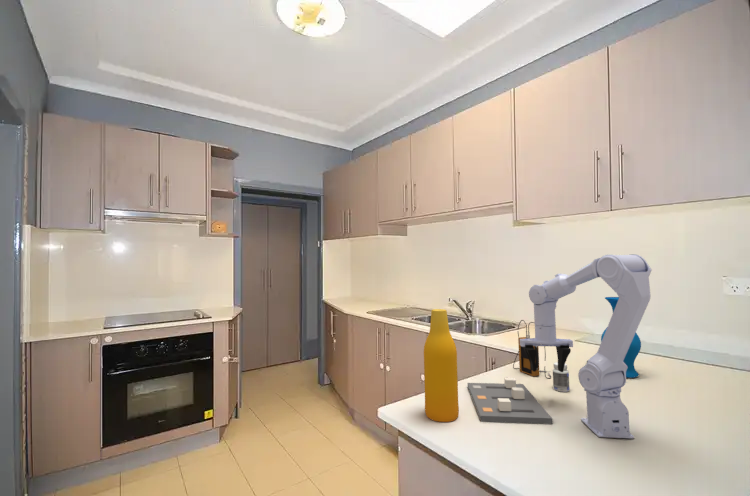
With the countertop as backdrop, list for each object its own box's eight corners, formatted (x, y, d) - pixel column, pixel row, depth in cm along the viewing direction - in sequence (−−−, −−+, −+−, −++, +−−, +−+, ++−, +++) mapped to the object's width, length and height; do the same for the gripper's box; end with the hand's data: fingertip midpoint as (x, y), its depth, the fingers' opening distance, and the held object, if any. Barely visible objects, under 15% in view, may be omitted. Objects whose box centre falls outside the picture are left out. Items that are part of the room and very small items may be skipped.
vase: (610, 378, 124) (606, 299, 125) (597, 368, 136) (593, 296, 138) (650, 380, 121) (645, 299, 123) (632, 370, 133) (628, 296, 135)
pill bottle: (571, 392, 112) (570, 366, 112) (555, 391, 113) (554, 365, 113) (566, 387, 116) (565, 361, 117) (551, 386, 117) (550, 361, 118)
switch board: (552, 424, 90) (552, 417, 90) (480, 421, 93) (480, 415, 93) (523, 388, 116) (522, 383, 116) (467, 387, 118) (467, 382, 118)
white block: (511, 411, 94) (510, 401, 94) (499, 410, 95) (499, 401, 95) (509, 407, 97) (508, 398, 97) (497, 407, 97) (497, 398, 97)
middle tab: (524, 399, 102) (524, 390, 103) (513, 398, 103) (513, 390, 103) (522, 396, 105) (521, 387, 105) (511, 395, 105) (511, 387, 105)
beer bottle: (463, 412, 98) (460, 308, 100) (452, 425, 90) (449, 313, 92) (432, 406, 103) (429, 307, 105) (419, 418, 95) (417, 311, 97)
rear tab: (516, 388, 111) (515, 380, 112) (506, 388, 112) (506, 380, 112) (514, 385, 114) (513, 378, 114) (504, 385, 114) (504, 377, 114)
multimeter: (562, 376, 128) (560, 321, 129) (542, 380, 124) (539, 323, 125) (531, 366, 141) (529, 316, 142) (512, 369, 138) (510, 318, 139)
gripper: (565, 322, 108) (567, 367, 107) (516, 322, 110) (518, 366, 109) (575, 326, 101) (577, 374, 100) (522, 326, 103) (524, 373, 102)
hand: (547, 370), depth 104 cm, fingers open, 7 cm apart
